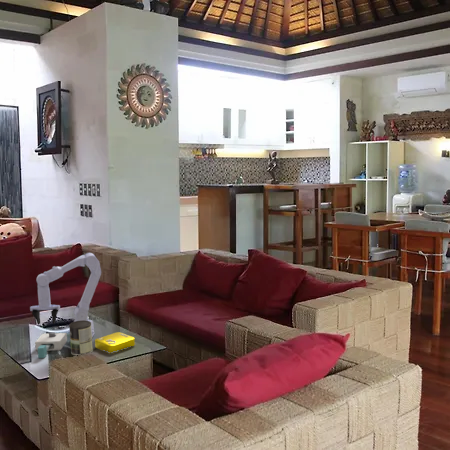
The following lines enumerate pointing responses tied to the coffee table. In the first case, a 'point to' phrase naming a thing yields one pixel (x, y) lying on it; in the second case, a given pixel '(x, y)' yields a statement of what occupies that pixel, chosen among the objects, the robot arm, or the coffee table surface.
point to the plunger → (52, 334)
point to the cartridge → (43, 350)
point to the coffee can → (80, 337)
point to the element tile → (114, 342)
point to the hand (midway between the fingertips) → (46, 323)
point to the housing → (52, 341)
